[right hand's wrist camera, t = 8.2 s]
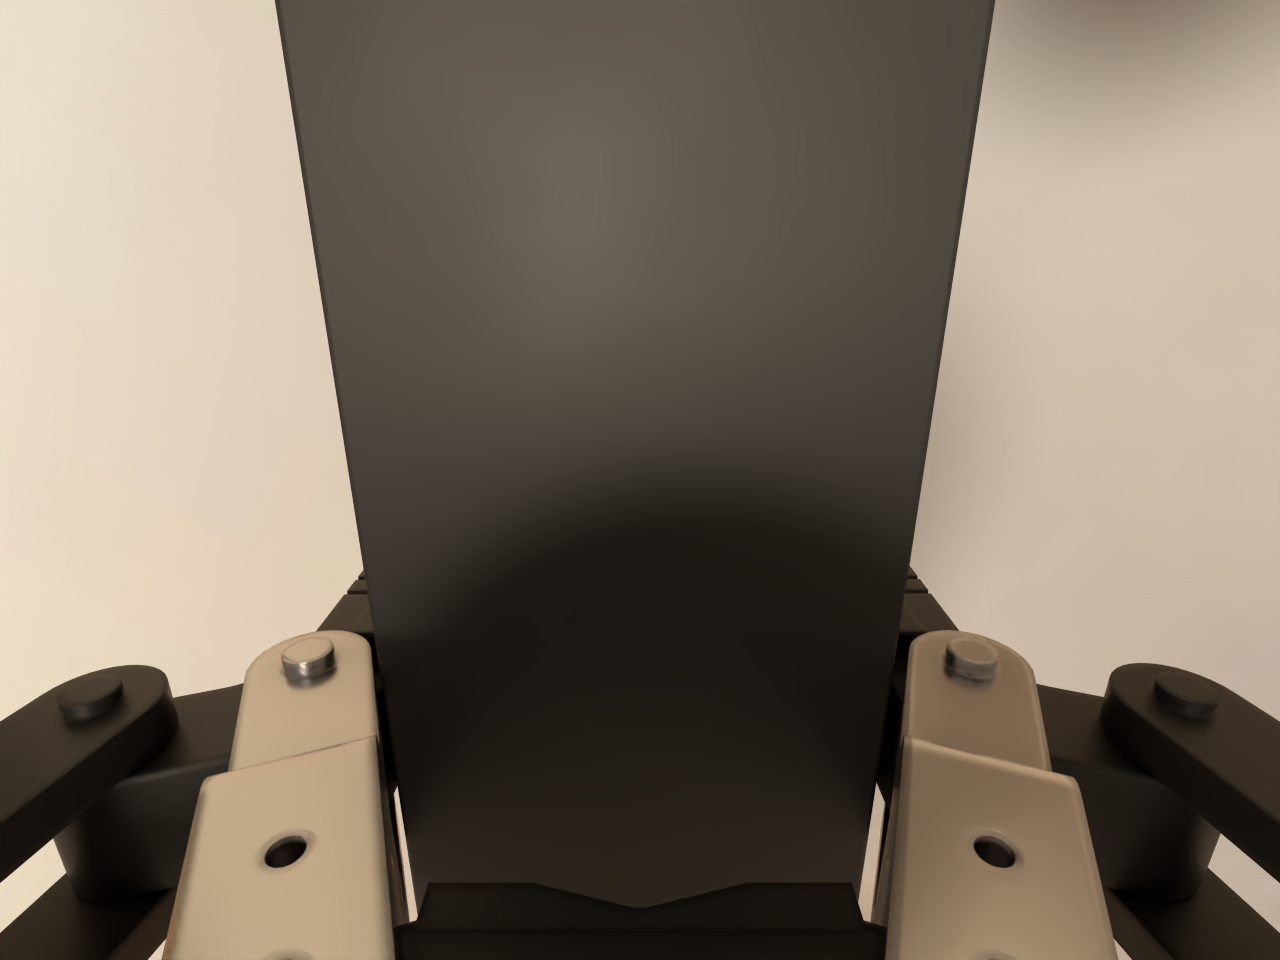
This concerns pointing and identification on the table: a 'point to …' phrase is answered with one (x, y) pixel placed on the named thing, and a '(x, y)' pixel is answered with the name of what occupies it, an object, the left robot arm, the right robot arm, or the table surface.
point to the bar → (635, 409)
